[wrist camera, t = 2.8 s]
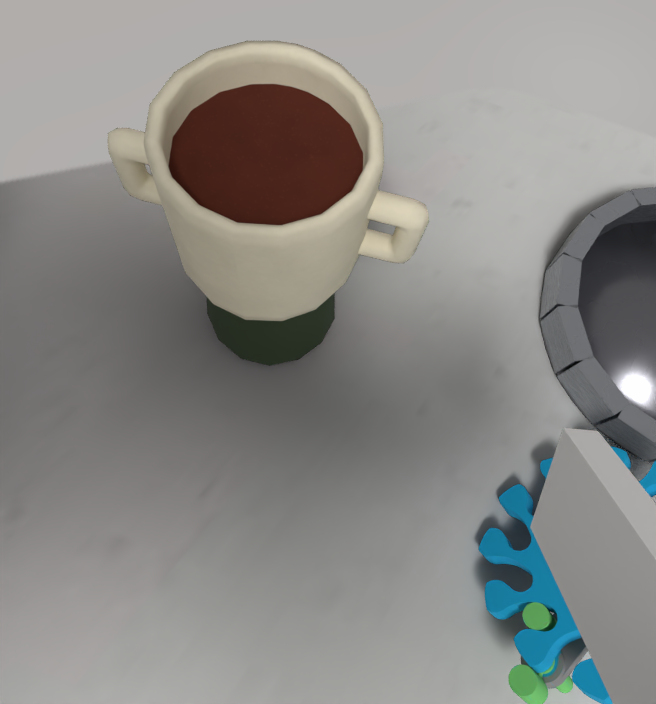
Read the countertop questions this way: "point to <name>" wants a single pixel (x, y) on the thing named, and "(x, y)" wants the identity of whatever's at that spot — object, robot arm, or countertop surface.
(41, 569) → the countertop surface
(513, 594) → the gear
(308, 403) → the countertop surface
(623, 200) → the grey round tray
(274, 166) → the character mug
